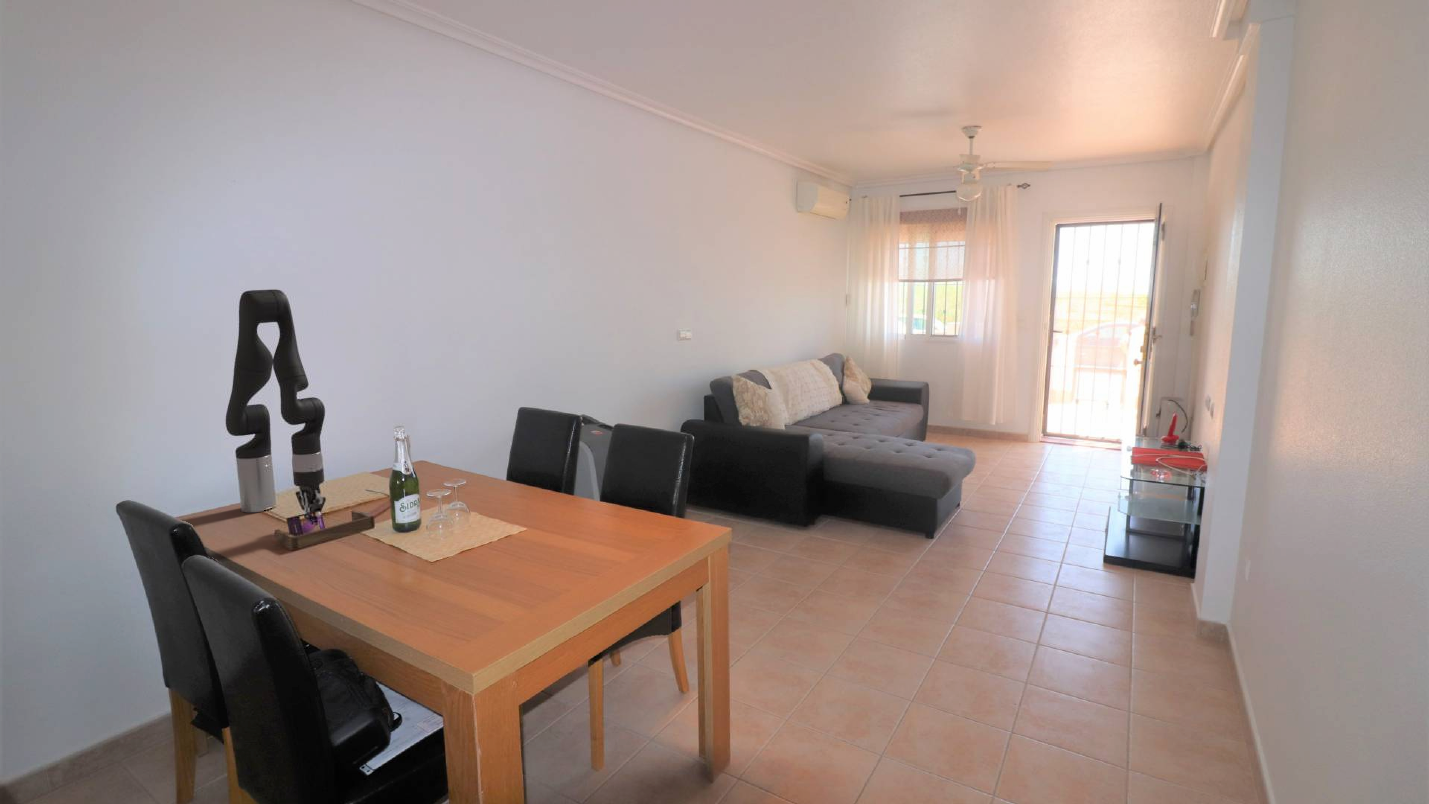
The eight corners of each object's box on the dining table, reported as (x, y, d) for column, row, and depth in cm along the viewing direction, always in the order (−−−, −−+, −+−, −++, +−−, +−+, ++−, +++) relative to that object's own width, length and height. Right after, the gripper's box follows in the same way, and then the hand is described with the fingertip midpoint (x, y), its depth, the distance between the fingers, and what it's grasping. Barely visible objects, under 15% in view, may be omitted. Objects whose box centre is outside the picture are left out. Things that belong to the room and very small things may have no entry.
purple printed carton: (287, 517, 184) (321, 509, 191) (279, 520, 186) (313, 512, 194) (293, 541, 183) (327, 532, 191) (285, 543, 186) (319, 535, 194)
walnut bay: (275, 542, 183) (274, 530, 183) (355, 520, 201) (354, 509, 201) (294, 550, 178) (293, 538, 177) (374, 527, 196) (373, 516, 195)
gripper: (282, 466, 191) (287, 524, 194) (305, 474, 184) (310, 534, 187) (310, 461, 197) (314, 517, 200) (333, 468, 190) (337, 526, 193)
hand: (312, 525), depth 193 cm, fingers closed
